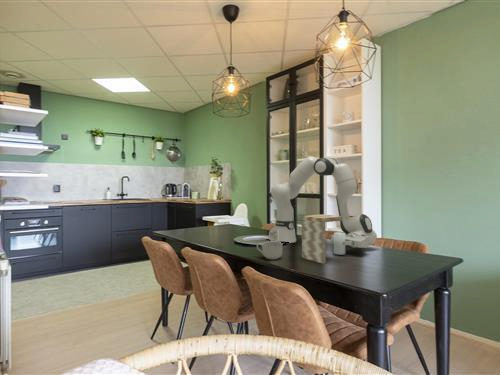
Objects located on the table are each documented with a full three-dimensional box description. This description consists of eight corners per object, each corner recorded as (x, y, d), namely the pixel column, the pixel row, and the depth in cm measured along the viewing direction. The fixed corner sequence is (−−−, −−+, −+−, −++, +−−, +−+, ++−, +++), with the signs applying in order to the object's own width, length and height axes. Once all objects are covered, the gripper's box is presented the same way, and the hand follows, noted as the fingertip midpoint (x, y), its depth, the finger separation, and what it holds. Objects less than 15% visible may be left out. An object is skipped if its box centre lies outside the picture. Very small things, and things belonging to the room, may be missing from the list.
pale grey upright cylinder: (331, 252, 167) (331, 232, 166) (338, 251, 170) (338, 231, 170) (340, 255, 162) (340, 234, 161) (347, 253, 165) (347, 233, 165)
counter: (301, 257, 160) (301, 215, 160) (320, 254, 168) (320, 214, 168) (323, 263, 148) (323, 218, 148) (342, 259, 156) (342, 216, 155)
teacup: (286, 257, 162) (286, 242, 162) (277, 261, 152) (277, 245, 152) (262, 254, 169) (262, 239, 169) (253, 258, 159) (253, 243, 159)
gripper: (340, 231, 181) (324, 233, 174) (370, 236, 164) (354, 239, 157) (340, 242, 182) (324, 244, 174) (370, 248, 165) (354, 251, 157)
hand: (338, 242), depth 165 cm, fingers closed on pale grey upright cylinder, 6 cm apart
